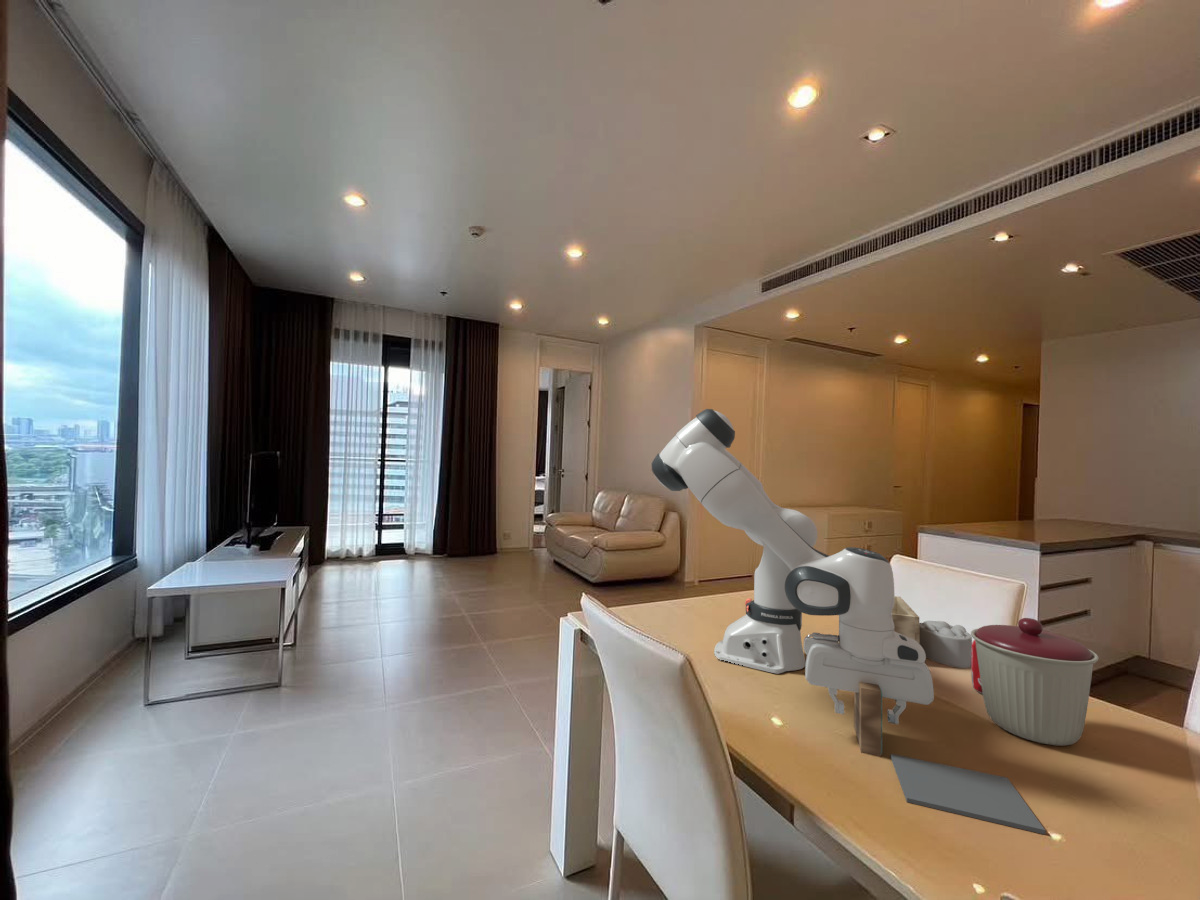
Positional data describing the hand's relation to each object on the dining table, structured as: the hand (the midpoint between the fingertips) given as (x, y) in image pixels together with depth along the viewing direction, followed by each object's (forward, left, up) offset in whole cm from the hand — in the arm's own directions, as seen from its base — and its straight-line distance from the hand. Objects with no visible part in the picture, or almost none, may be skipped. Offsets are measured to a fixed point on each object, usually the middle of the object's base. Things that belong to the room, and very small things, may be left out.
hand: (865, 717), depth 86 cm
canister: (+30, +17, -4) cm, 35 cm away
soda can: (+29, +33, -4) cm, 44 cm away
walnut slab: (0, 0, -4) cm, 4 cm away
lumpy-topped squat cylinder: (+26, +54, -4) cm, 60 cm away
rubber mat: (+11, -10, -4) cm, 16 cm away
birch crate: (+12, +56, -4) cm, 58 cm away
